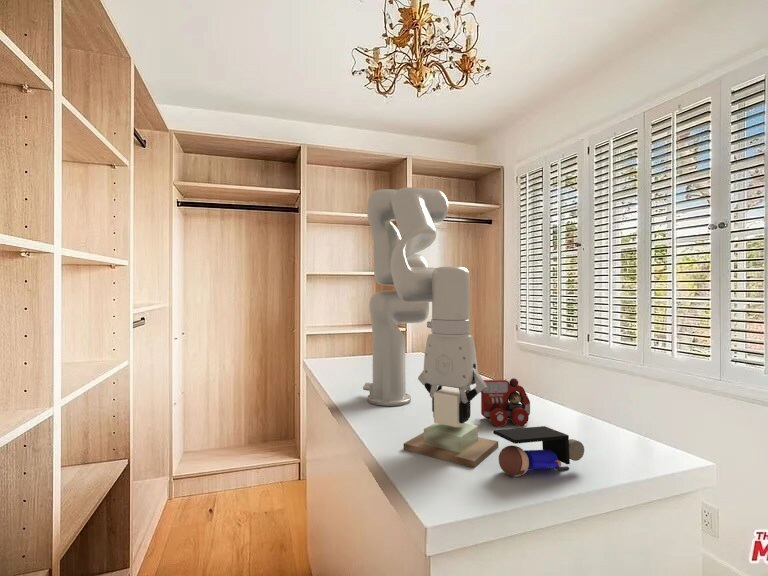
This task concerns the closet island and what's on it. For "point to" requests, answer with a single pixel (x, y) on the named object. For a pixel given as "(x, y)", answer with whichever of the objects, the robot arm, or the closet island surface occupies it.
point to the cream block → (447, 407)
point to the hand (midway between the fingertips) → (451, 417)
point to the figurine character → (553, 451)
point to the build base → (454, 456)
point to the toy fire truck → (505, 402)
